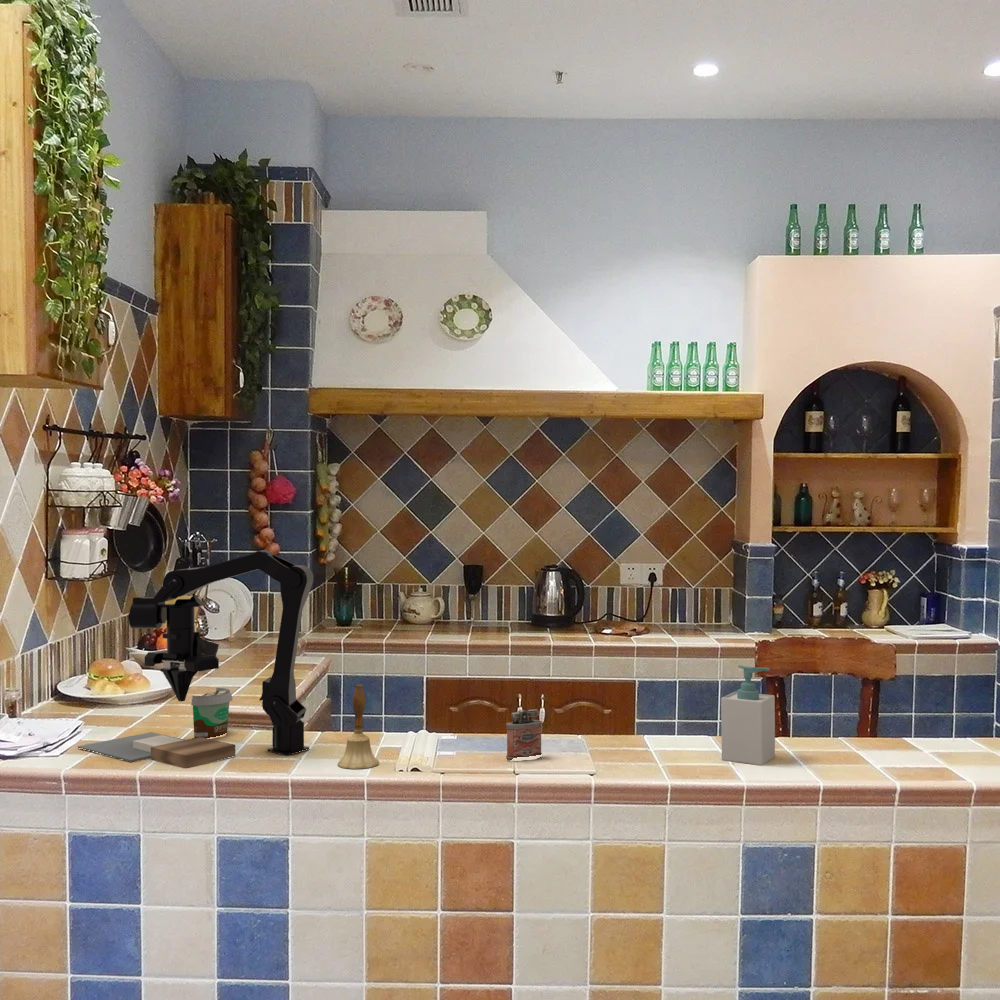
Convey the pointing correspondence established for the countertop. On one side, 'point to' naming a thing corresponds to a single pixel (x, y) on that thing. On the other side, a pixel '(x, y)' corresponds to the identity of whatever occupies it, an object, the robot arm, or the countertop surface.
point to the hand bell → (358, 738)
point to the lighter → (523, 735)
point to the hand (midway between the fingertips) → (181, 701)
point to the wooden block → (192, 752)
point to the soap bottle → (748, 723)
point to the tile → (153, 742)
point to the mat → (122, 747)
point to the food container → (211, 713)
